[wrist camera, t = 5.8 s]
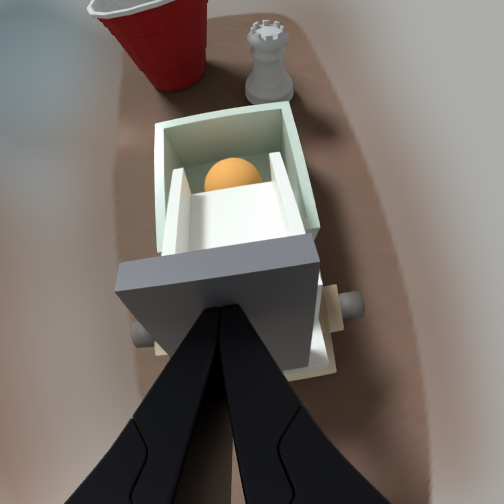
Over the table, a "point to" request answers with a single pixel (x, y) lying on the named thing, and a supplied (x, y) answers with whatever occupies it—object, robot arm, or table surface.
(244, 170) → the ball
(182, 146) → the pale green open box
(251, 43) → the rook chess piece
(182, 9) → the plastic cup
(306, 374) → the stand
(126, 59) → the table surface
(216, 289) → the chute
